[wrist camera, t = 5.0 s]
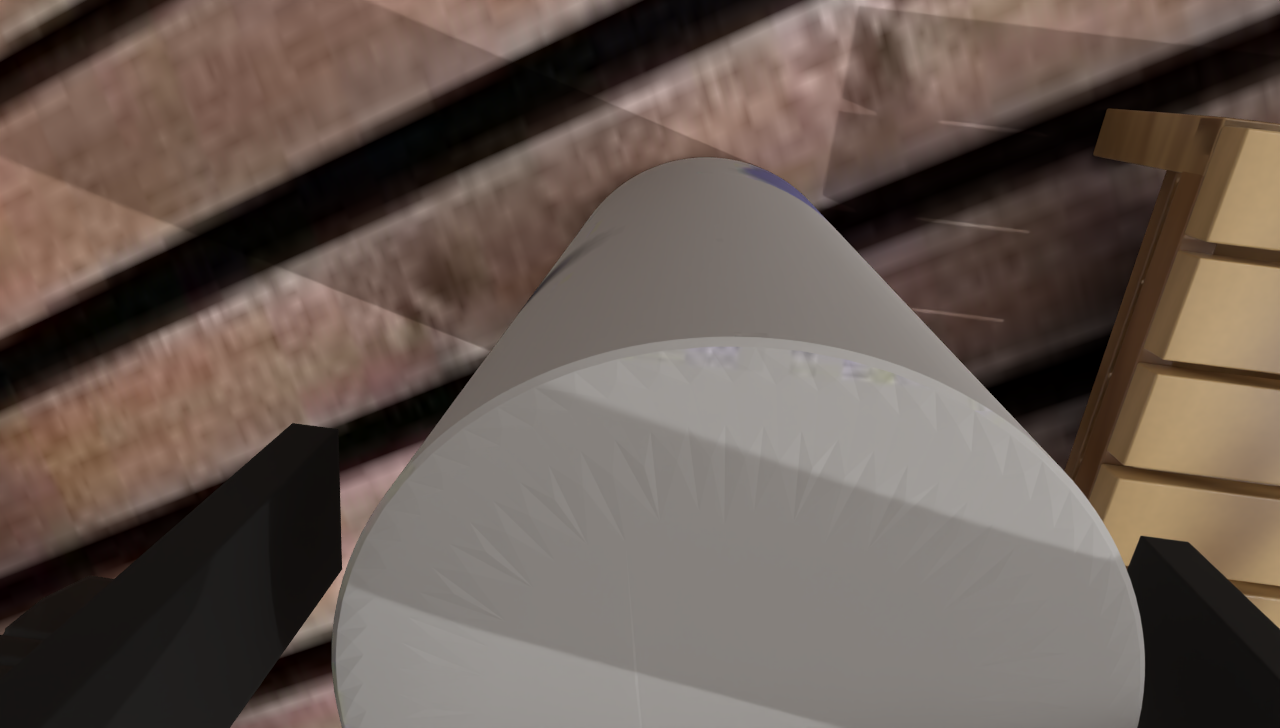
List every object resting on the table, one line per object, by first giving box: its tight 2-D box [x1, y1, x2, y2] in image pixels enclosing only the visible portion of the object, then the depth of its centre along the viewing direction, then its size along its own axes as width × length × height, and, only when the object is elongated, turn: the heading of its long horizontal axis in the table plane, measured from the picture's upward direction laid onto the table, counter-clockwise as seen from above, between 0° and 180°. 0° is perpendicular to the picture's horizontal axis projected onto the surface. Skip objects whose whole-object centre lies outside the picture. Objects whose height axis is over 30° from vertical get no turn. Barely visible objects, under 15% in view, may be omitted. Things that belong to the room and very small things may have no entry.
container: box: [332, 157, 1145, 728], centre depth 19 cm, size 10×10×20 cm
